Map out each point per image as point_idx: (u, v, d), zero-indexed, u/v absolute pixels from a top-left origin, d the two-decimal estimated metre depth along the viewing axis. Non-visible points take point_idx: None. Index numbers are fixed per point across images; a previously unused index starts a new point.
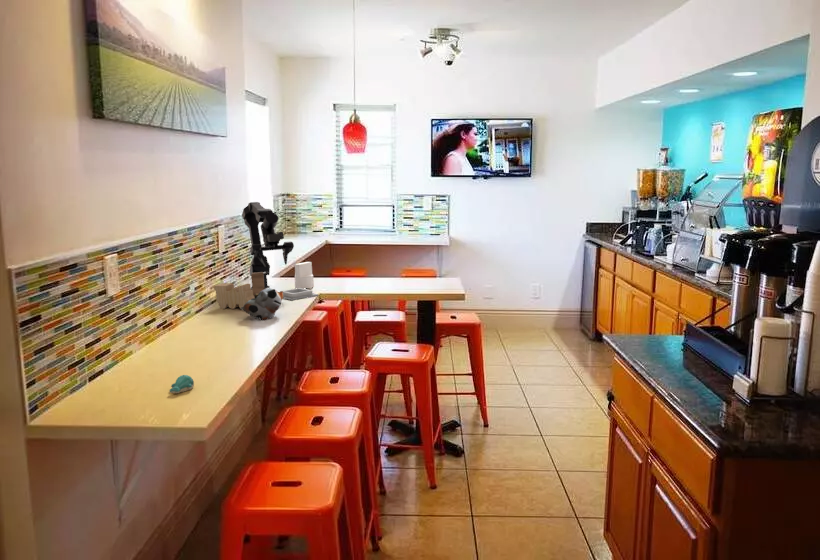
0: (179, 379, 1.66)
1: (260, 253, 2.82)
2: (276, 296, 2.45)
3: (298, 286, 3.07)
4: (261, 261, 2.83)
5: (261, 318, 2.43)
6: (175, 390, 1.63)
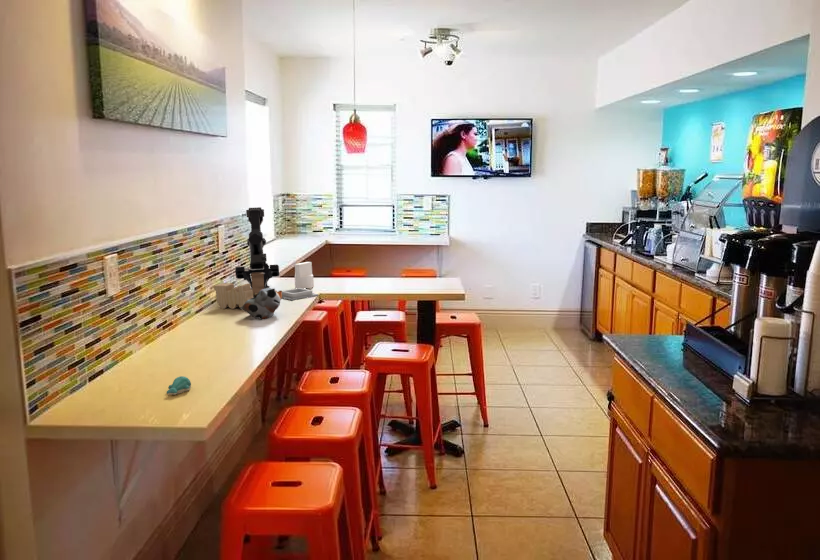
0: (176, 380, 1.65)
1: (247, 275, 2.79)
2: (275, 295, 2.47)
3: (298, 286, 3.07)
4: (249, 283, 2.80)
5: (261, 317, 2.45)
6: (172, 391, 1.62)
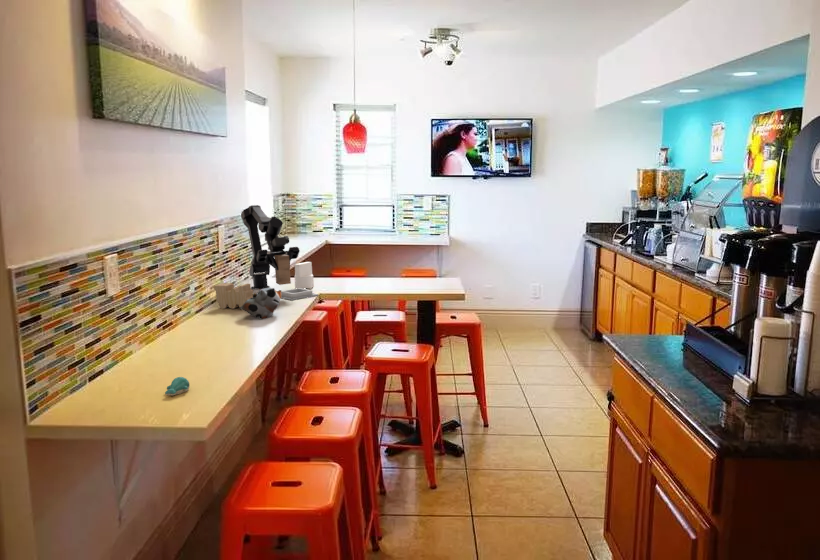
0: (175, 381, 1.65)
1: (271, 257, 2.81)
2: (275, 295, 2.47)
3: (298, 286, 3.07)
4: (273, 266, 2.83)
5: (261, 317, 2.45)
6: (171, 392, 1.62)
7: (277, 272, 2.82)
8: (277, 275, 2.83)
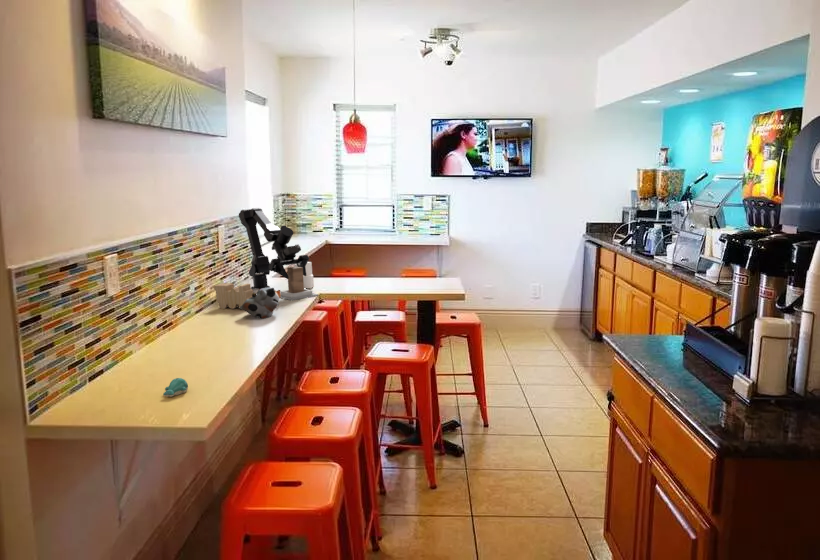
0: (173, 382, 1.64)
1: (281, 266, 2.84)
2: (275, 295, 2.48)
3: None
4: (282, 275, 2.85)
5: (260, 317, 2.46)
6: (169, 393, 1.61)
7: (291, 284, 2.87)
8: (291, 287, 2.87)
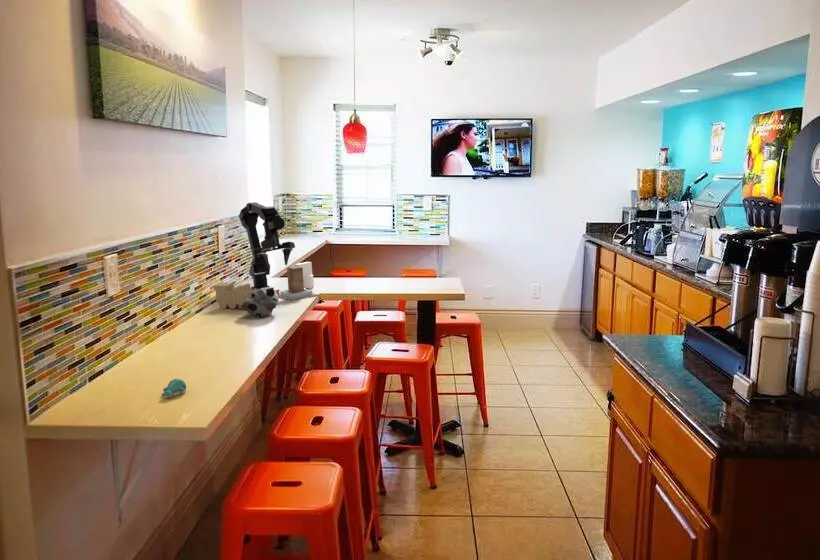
0: (171, 383, 1.63)
1: (261, 257, 2.94)
2: (274, 294, 2.49)
3: None
4: None
5: (260, 316, 2.46)
6: (167, 394, 1.60)
7: (291, 284, 2.87)
8: (291, 287, 2.87)
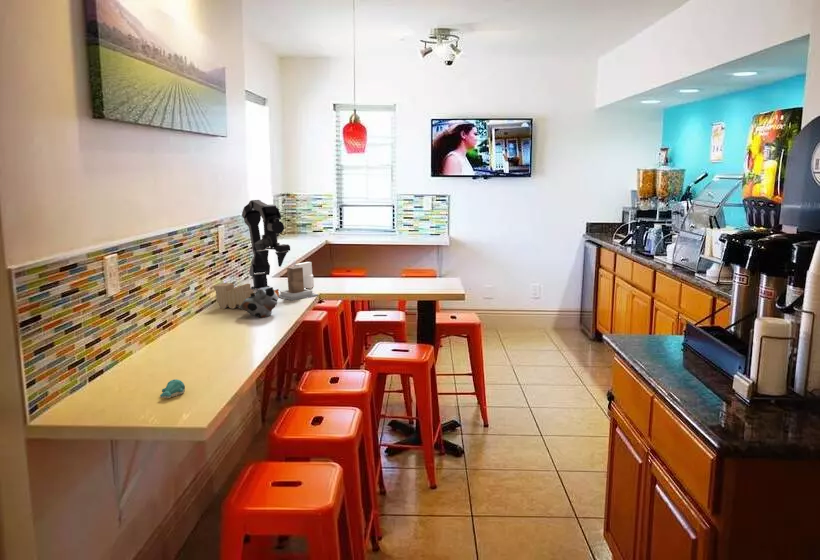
0: (170, 384, 1.63)
1: (259, 253, 2.96)
2: (274, 294, 2.50)
3: None
4: None
5: (260, 316, 2.47)
6: (166, 395, 1.60)
7: (291, 284, 2.87)
8: (291, 287, 2.87)
